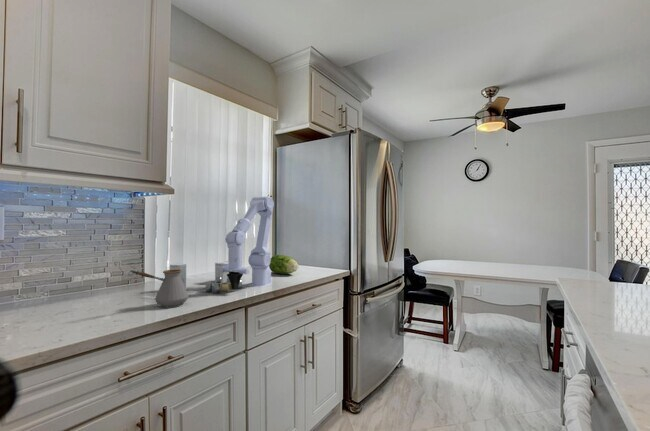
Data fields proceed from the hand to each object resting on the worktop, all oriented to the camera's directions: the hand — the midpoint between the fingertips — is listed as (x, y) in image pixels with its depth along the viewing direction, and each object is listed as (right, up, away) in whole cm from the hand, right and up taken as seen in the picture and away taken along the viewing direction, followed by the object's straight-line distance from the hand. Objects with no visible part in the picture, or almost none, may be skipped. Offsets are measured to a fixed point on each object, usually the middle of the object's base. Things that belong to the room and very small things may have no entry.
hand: (234, 289), depth 139 cm
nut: (-5, -1, +3) cm, 6 cm away
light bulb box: (-11, -2, +23) cm, 26 cm away
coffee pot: (-21, -1, -24) cm, 32 cm away
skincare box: (-27, -2, +5) cm, 28 cm away
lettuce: (+16, -3, +49) cm, 52 cm away
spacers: (-8, -1, +4) cm, 9 cm away
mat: (-8, -2, +4) cm, 9 cm away
